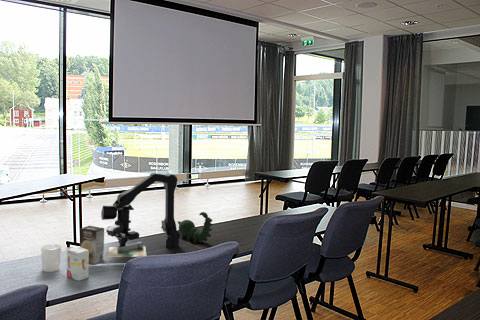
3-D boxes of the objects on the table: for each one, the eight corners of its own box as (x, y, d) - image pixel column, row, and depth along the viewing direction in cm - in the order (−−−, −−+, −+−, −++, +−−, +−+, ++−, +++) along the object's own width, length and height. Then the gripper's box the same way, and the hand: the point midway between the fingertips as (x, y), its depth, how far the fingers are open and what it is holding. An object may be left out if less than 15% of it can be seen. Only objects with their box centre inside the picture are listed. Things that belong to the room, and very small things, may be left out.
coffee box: (78, 262, 188) (79, 228, 187) (88, 258, 194) (88, 225, 193) (95, 265, 185) (95, 230, 184) (104, 261, 191) (105, 227, 190)
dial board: (145, 248, 215) (145, 245, 215) (146, 258, 198) (146, 255, 198) (109, 249, 210) (109, 246, 210) (107, 259, 194) (107, 257, 194)
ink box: (65, 276, 170) (66, 248, 170) (76, 273, 174) (77, 246, 174) (78, 281, 166) (78, 252, 165) (88, 278, 170) (89, 250, 169)
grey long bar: (140, 246, 212) (140, 241, 212) (144, 248, 210) (144, 242, 209) (116, 252, 201) (116, 246, 201) (120, 253, 199) (120, 247, 199)
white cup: (53, 273, 173) (53, 250, 172) (36, 271, 174) (37, 248, 174) (64, 267, 180) (65, 245, 180) (48, 265, 182) (49, 243, 181)
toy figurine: (213, 246, 230) (182, 233, 245) (216, 213, 228) (185, 203, 242) (201, 249, 222) (170, 236, 237) (205, 215, 220) (173, 205, 235)
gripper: (97, 217, 201) (96, 248, 203) (122, 225, 190) (120, 257, 192) (116, 214, 210) (115, 243, 212) (140, 221, 200) (139, 252, 201)
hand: (122, 249), depth 204 cm, fingers closed
